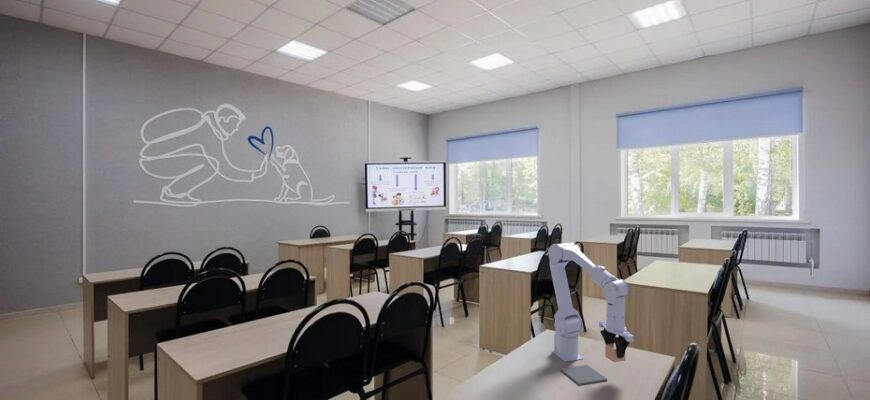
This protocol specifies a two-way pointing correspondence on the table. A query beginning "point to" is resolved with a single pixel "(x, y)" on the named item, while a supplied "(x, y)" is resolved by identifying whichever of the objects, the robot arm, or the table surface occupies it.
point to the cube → (612, 353)
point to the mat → (583, 374)
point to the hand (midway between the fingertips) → (615, 354)
